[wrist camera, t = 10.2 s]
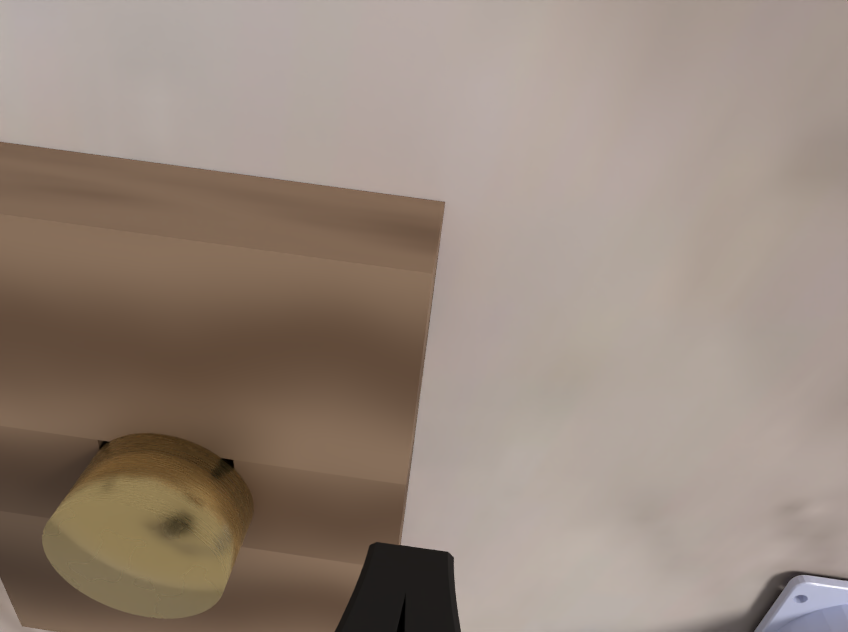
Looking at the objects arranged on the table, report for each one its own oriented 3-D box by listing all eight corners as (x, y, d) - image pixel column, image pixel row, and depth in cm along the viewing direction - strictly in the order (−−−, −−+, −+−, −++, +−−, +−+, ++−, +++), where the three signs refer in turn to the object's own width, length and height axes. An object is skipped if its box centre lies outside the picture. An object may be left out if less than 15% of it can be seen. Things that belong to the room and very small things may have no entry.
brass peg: (287, 471, 24) (229, 630, 19) (155, 451, 24) (62, 603, 19) (287, 367, 21) (219, 519, 16) (138, 344, 21) (23, 489, 16)
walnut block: (395, 586, 28) (381, 681, 24) (78, 539, 28) (22, 626, 25) (445, 201, 18) (432, 273, 14) (-48, 135, 18) (-170, 190, 15)
